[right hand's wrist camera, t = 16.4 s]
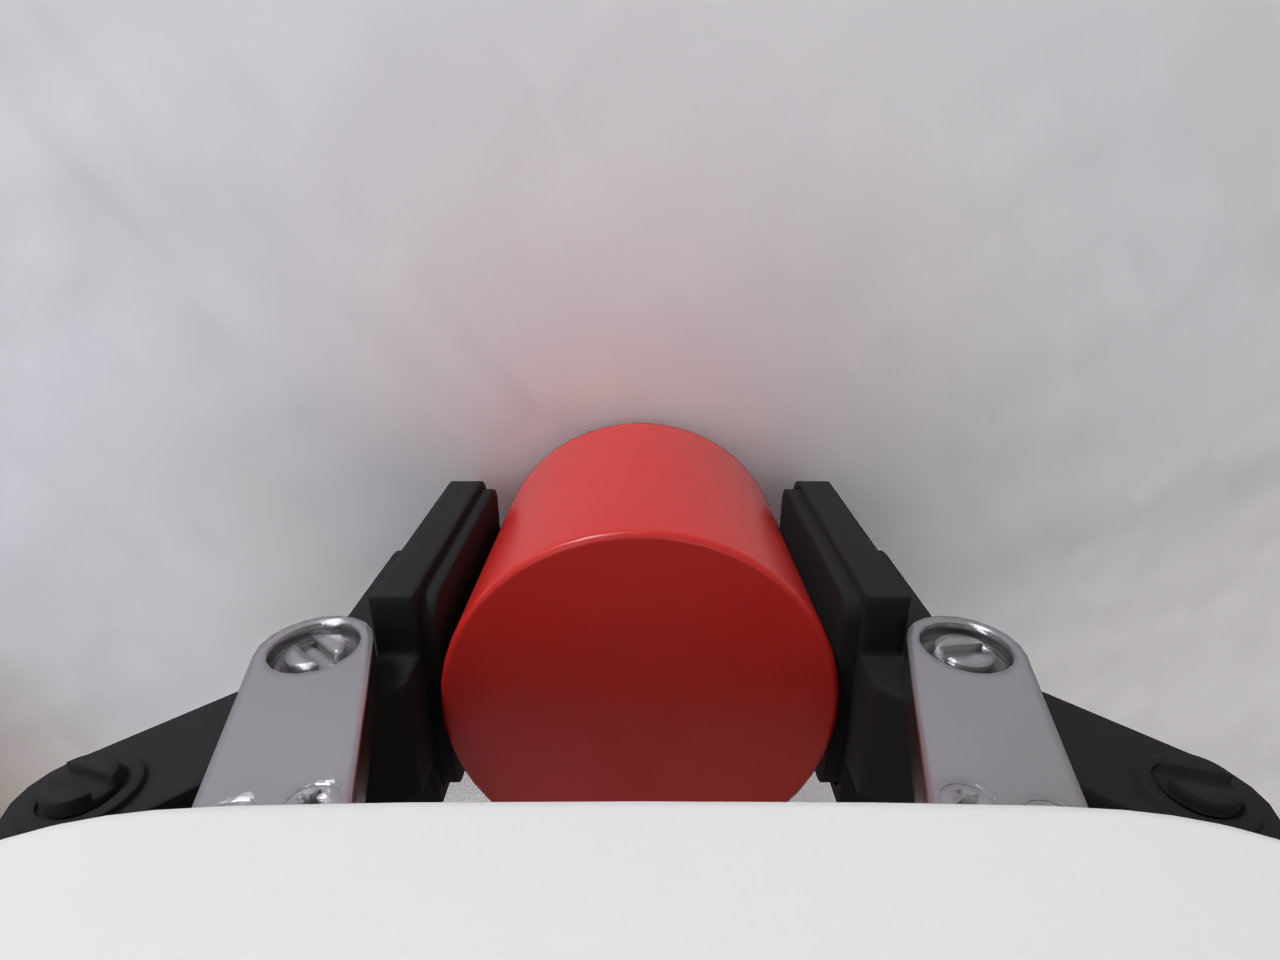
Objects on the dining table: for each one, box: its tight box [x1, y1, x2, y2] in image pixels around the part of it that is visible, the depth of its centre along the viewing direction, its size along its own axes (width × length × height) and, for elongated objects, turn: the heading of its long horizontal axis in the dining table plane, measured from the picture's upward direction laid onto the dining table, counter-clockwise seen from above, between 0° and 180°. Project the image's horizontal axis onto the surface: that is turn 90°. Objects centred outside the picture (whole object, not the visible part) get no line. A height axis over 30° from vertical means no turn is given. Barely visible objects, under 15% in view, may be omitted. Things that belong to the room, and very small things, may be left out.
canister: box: [441, 423, 839, 802], centre depth 10 cm, size 5×5×4 cm
